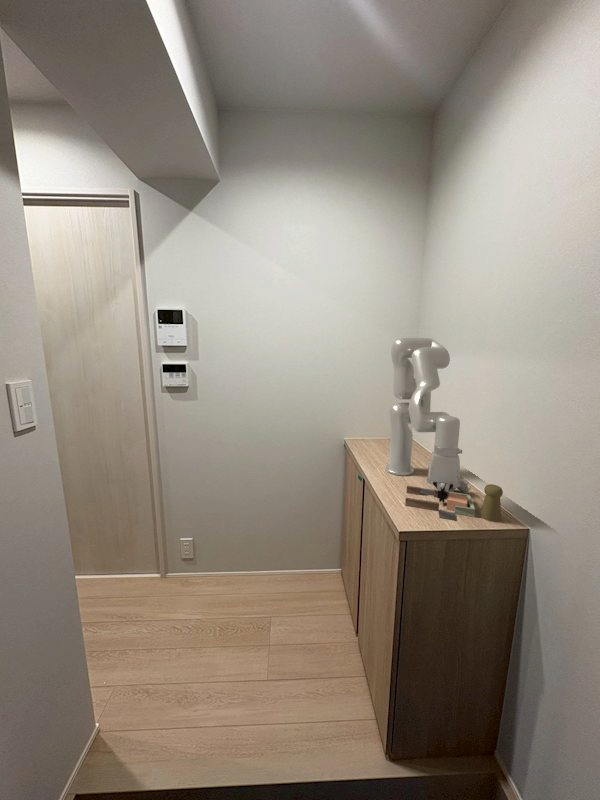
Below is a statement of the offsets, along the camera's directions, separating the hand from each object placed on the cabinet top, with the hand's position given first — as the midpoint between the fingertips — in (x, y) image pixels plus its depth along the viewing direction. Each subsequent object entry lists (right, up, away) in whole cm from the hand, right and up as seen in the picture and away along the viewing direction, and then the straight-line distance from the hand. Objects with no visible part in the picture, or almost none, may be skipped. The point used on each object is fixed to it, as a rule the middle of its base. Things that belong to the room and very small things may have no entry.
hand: (441, 500), depth 116 cm
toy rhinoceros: (+9, 0, +10) cm, 13 cm away
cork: (+12, -3, -9) cm, 16 cm away
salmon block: (+4, -2, -3) cm, 5 cm away
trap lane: (-1, -1, +1) cm, 2 cm away
